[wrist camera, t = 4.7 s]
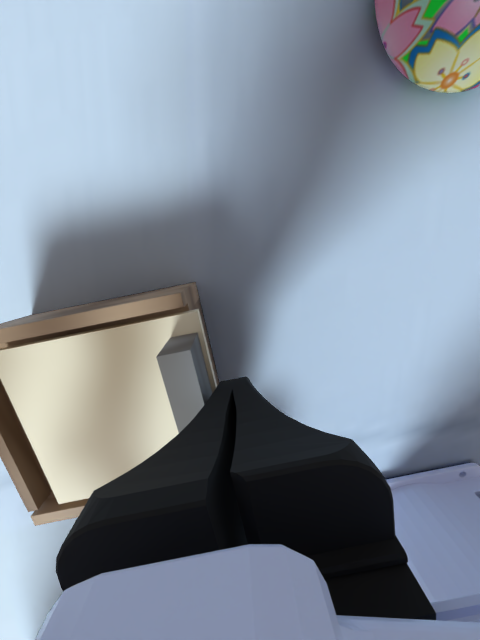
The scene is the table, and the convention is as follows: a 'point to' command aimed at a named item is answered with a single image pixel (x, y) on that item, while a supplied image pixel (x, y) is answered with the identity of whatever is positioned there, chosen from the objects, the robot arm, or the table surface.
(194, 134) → the table surface
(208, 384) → the lid
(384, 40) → the mug
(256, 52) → the table surface
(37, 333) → the wooden box
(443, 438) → the table surface
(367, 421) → the table surface
